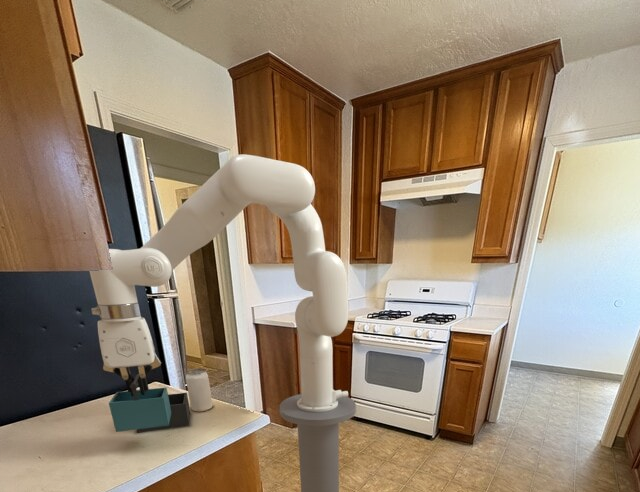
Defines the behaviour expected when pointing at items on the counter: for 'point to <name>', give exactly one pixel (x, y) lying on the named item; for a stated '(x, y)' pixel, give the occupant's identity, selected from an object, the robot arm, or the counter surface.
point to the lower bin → (175, 413)
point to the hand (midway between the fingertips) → (139, 393)
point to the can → (199, 390)
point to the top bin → (140, 408)
